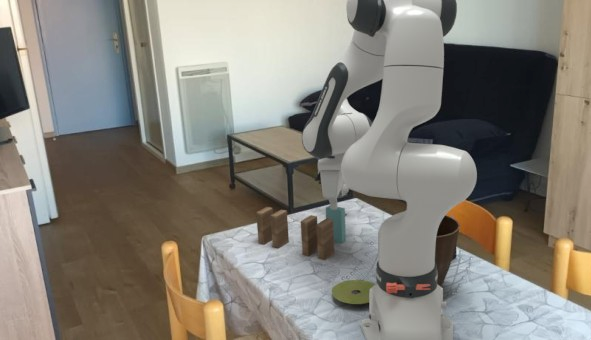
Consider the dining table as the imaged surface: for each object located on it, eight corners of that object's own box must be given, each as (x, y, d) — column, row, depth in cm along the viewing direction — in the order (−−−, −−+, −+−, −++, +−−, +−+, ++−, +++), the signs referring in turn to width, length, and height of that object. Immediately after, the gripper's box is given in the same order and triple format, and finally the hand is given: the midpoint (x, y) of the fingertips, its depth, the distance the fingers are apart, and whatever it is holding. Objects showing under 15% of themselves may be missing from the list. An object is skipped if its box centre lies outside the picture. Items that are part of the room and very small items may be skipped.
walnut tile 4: (318, 250, 157) (317, 216, 154) (308, 257, 153) (306, 222, 150) (312, 249, 158) (310, 215, 155) (302, 255, 154) (300, 221, 151)
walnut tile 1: (274, 240, 165) (272, 207, 162) (264, 246, 161) (261, 213, 159) (269, 239, 166) (266, 206, 164) (258, 245, 163) (256, 212, 160)
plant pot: (465, 279, 136) (467, 217, 132) (447, 309, 124) (448, 240, 120) (405, 268, 144) (405, 208, 139) (382, 294, 131) (381, 230, 127)
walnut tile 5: (334, 254, 154) (333, 219, 151) (324, 261, 150) (323, 225, 147) (328, 252, 155) (326, 218, 152) (318, 259, 151) (316, 224, 149)
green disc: (345, 283, 138) (345, 275, 137) (389, 293, 132) (389, 285, 132) (323, 304, 129) (322, 296, 128) (368, 316, 123) (368, 307, 123)
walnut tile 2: (288, 243, 163) (286, 210, 160) (278, 250, 159) (276, 216, 156) (283, 242, 164) (281, 209, 161) (272, 248, 160) (270, 215, 157)
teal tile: (330, 238, 165) (329, 205, 162) (345, 241, 162) (344, 208, 159) (326, 240, 163) (325, 207, 160) (342, 243, 160) (341, 210, 158)
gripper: (329, 145, 166) (331, 189, 170) (316, 166, 147) (319, 216, 151) (351, 144, 165) (352, 190, 169) (340, 166, 146) (342, 216, 150)
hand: (336, 202), depth 160 cm, fingers open, 8 cm apart
